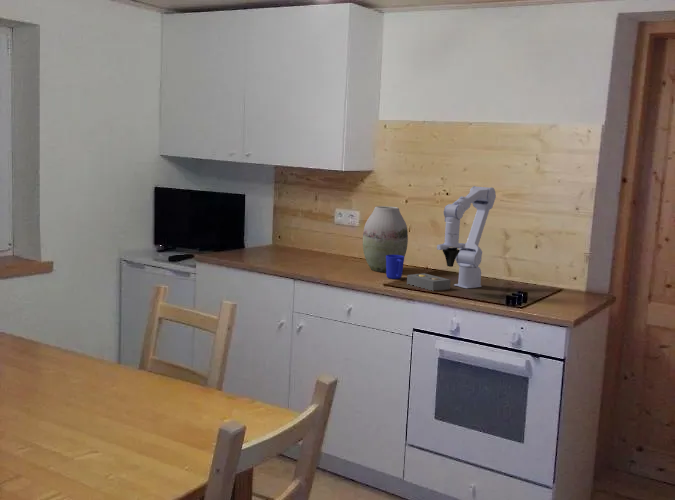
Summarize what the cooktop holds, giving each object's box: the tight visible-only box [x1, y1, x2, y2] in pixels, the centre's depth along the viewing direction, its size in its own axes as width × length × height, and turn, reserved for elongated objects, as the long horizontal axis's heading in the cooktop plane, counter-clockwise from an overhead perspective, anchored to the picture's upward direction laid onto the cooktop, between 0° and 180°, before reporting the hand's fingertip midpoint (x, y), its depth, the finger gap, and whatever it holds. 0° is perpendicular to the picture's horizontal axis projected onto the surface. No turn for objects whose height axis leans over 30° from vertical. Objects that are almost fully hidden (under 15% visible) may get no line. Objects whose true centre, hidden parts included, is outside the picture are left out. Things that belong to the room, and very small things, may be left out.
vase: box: [362, 205, 409, 273], centre depth 344 cm, size 21×21×30 cm
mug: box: [385, 255, 405, 280], centre depth 324 cm, size 8×12×10 cm
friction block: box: [406, 272, 452, 292], centre depth 309 cm, size 10×16×4 cm, turn 37°
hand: (449, 266), depth 300 cm, fingers closed
